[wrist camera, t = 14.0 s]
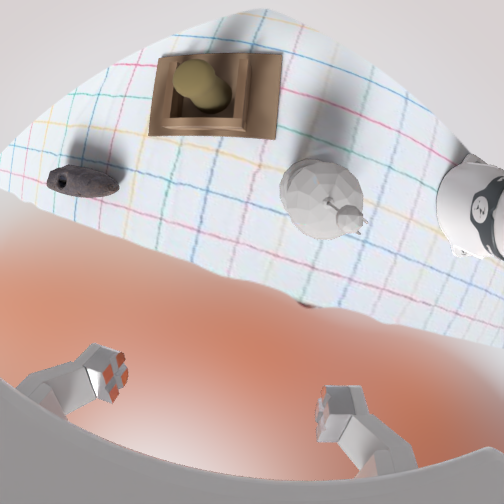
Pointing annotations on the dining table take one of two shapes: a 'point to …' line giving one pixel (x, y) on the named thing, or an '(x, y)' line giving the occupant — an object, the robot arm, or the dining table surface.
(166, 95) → the u rest
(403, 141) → the dining table surface
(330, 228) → the french press
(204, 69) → the cork
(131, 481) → the robot arm
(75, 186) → the perforated stone tool
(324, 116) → the dining table surface
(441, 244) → the dining table surface
